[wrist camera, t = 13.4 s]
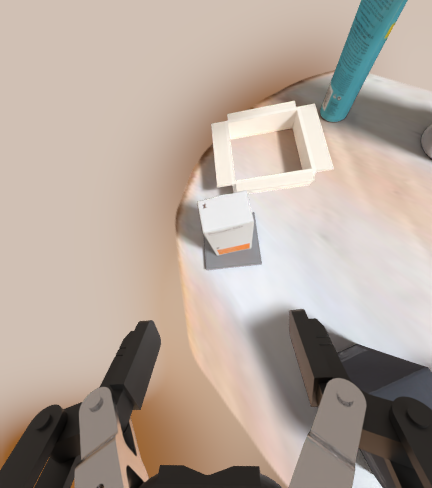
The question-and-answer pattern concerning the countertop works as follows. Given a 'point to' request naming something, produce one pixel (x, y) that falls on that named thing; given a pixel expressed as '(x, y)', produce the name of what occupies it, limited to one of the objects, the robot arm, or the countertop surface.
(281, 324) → the countertop surface
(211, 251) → the coaster
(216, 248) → the skincare box
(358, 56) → the tube
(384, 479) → the small box
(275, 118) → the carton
